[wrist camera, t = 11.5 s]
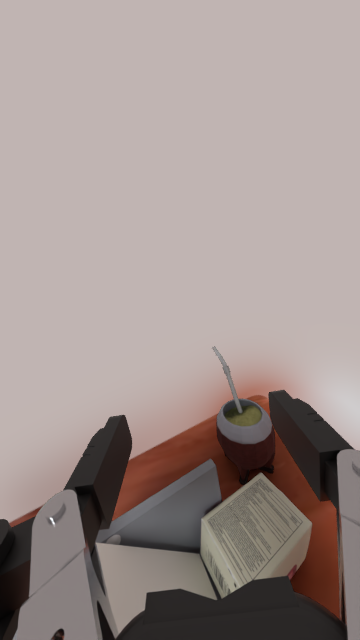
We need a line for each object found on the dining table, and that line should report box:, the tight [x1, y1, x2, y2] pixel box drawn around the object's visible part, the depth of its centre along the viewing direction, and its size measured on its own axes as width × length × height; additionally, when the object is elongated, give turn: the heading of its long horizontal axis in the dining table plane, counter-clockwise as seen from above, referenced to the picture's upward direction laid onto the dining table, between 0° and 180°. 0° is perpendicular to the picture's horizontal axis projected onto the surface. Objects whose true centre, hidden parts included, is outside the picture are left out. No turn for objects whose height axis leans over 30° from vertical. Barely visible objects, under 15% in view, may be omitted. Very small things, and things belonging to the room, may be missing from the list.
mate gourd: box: [212, 347, 275, 485], centre depth 24 cm, size 8×8×15 cm
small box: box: [200, 473, 312, 598], centre depth 16 cm, size 5×4×8 cm
